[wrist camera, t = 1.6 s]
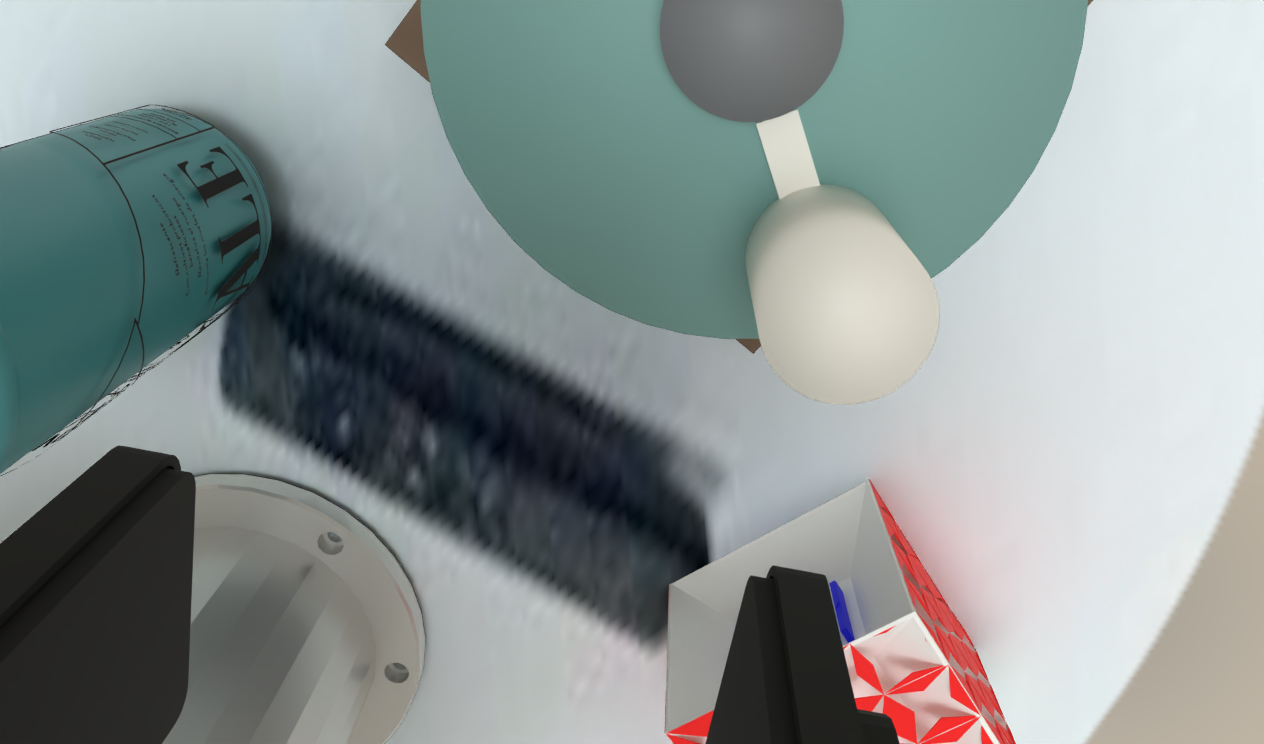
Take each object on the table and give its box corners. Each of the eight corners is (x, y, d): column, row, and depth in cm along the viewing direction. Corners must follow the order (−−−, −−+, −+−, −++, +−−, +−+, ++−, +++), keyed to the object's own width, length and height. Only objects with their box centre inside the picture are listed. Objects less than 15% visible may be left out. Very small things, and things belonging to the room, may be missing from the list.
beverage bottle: (50, 167, 34) (-748, 426, 15) (211, 50, 32) (-450, 174, 13) (185, 337, 35) (-375, 757, 17) (344, 233, 34) (-75, 567, 15)
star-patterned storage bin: (781, 740, 40) (802, 916, 33) (668, 583, 38) (664, 734, 31) (976, 647, 38) (1046, 811, 31) (871, 477, 36) (918, 609, 29)
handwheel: (762, 427, 30) (782, 548, 23) (314, 58, 27) (204, 87, 21) (1203, -16, 25) (1368, -8, 19) (722, -518, 22) (736, -700, 16)
